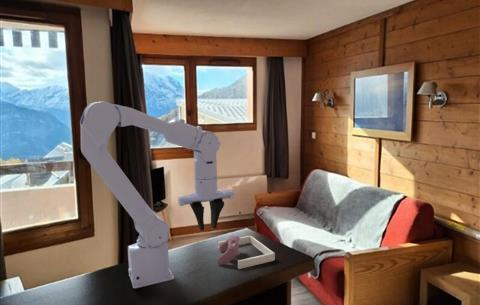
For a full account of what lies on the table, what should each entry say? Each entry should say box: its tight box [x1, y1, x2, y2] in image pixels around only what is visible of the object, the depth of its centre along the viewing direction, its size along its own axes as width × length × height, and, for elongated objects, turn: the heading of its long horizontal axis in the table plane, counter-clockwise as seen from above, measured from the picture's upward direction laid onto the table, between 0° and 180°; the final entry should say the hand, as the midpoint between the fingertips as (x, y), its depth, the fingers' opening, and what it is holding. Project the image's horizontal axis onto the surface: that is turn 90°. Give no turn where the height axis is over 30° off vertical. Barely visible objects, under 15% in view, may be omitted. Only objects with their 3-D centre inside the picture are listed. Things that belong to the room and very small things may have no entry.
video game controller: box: [216, 234, 240, 266], centre depth 93 cm, size 10×5×7 cm, turn 179°
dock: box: [217, 235, 276, 270], centre depth 95 cm, size 11×14×2 cm
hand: (207, 228), depth 89 cm, fingers open, 3 cm apart
